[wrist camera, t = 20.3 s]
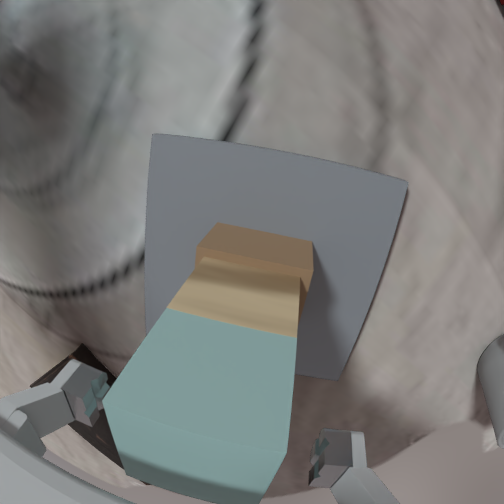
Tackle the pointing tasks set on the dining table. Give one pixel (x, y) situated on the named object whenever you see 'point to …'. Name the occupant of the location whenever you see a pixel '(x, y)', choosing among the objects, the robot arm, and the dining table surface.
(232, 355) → the teal cube
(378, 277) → the foundation
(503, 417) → the cup
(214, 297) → the oak cube
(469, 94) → the dining table surface
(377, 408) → the dining table surface
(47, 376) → the hardcover book
